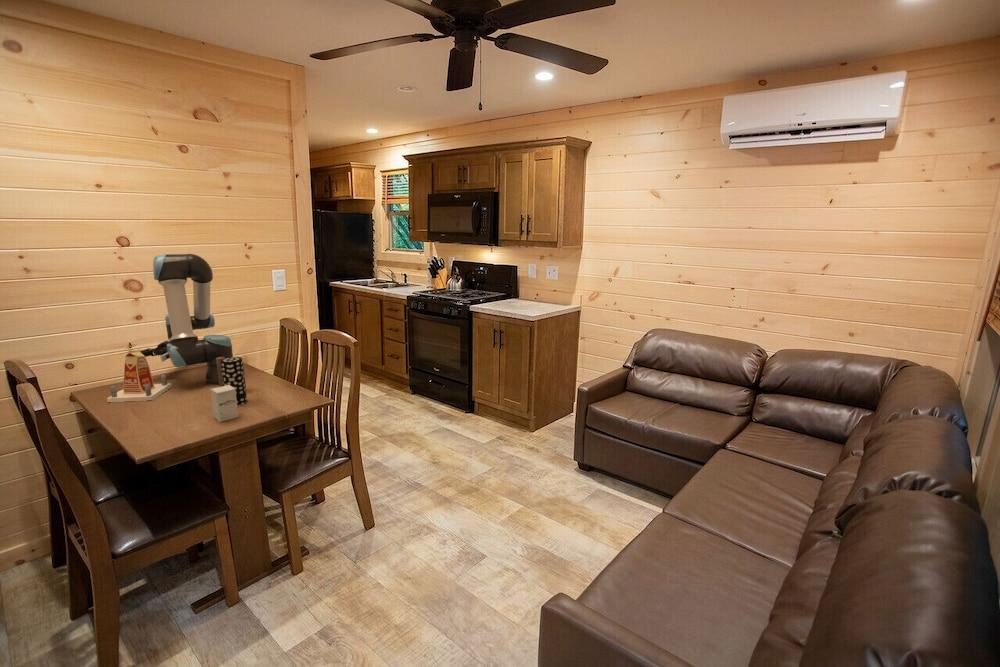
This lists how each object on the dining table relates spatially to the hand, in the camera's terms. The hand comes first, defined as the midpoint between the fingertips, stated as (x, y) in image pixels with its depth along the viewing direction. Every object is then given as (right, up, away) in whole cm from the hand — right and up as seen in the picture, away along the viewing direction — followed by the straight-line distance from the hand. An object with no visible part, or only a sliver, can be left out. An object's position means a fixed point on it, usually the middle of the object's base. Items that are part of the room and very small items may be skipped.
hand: (145, 359), depth 231 cm
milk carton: (+1, -14, -5) cm, 15 cm away
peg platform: (+1, -16, -5) cm, 17 cm away
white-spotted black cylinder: (+50, -19, -13) cm, 55 cm away
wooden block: (+42, -16, -1) cm, 45 cm away
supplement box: (+55, -23, -29) cm, 66 cm away
